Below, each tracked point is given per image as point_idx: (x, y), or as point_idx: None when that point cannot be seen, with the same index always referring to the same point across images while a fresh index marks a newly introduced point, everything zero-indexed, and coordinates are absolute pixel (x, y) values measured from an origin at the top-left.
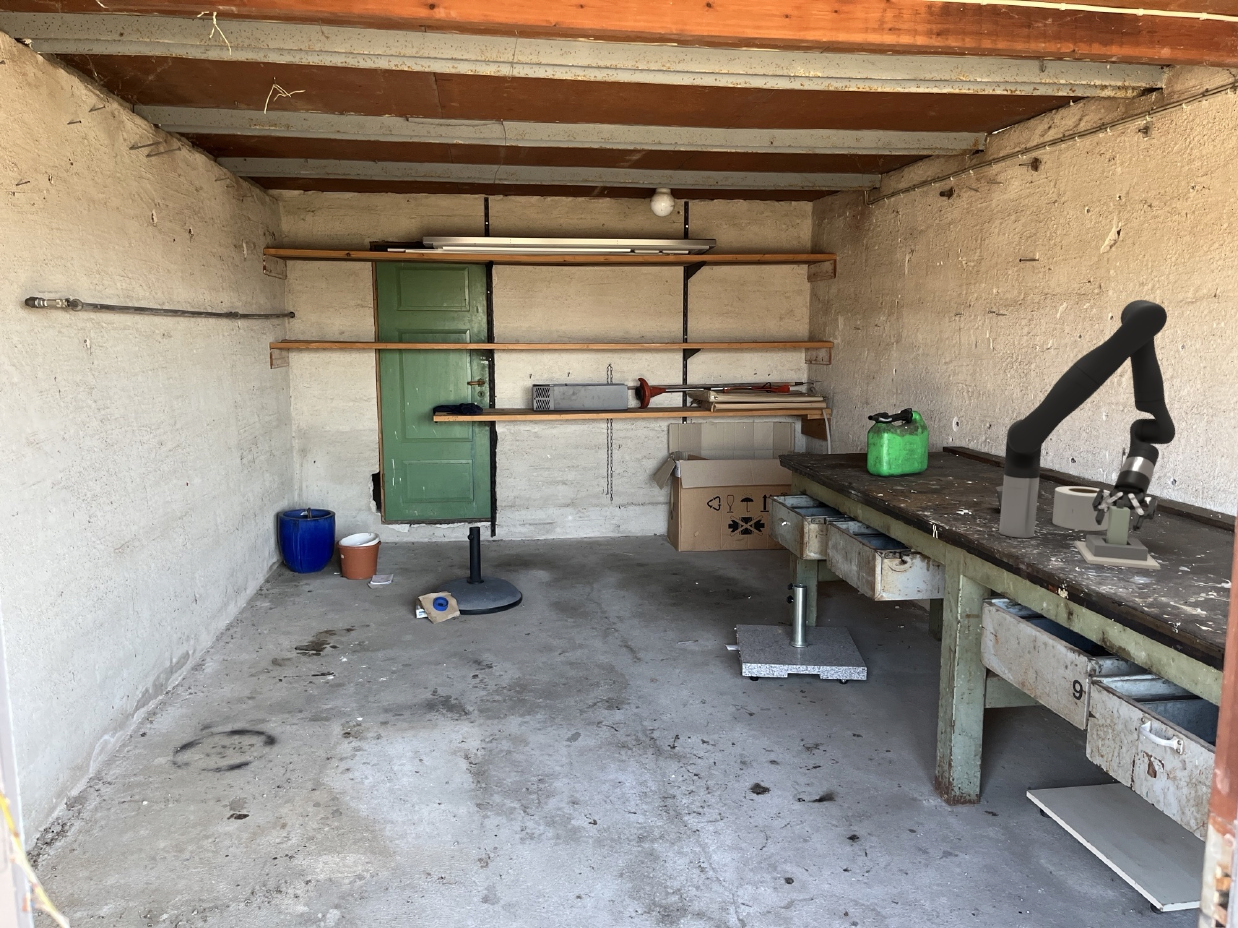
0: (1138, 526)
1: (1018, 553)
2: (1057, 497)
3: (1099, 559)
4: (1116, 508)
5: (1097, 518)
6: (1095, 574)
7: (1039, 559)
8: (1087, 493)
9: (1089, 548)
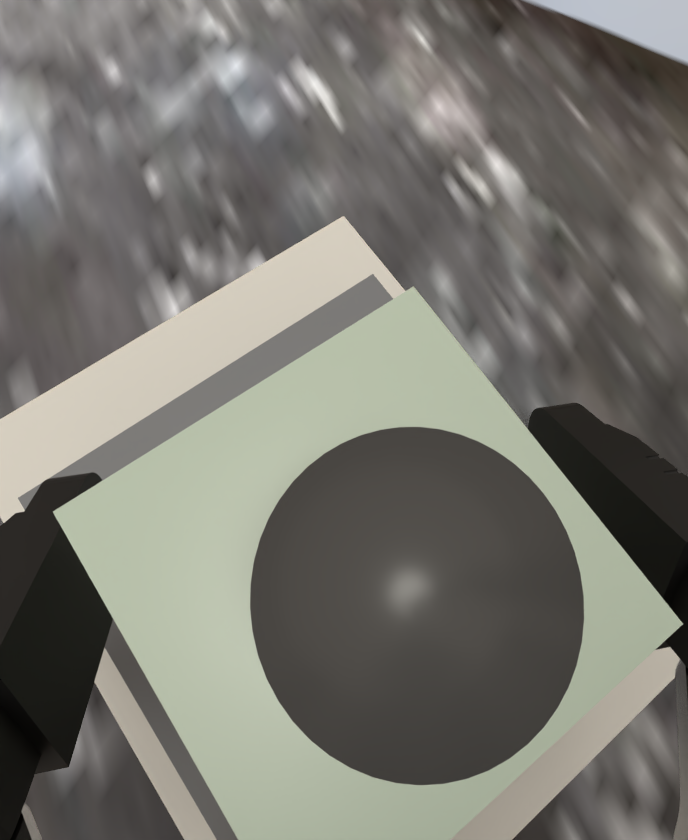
0: (20, 512)
1: (663, 135)
2: None
3: (302, 269)
4: (395, 424)
5: (588, 411)
6: (209, 66)
7: (530, 111)
8: None
9: None
